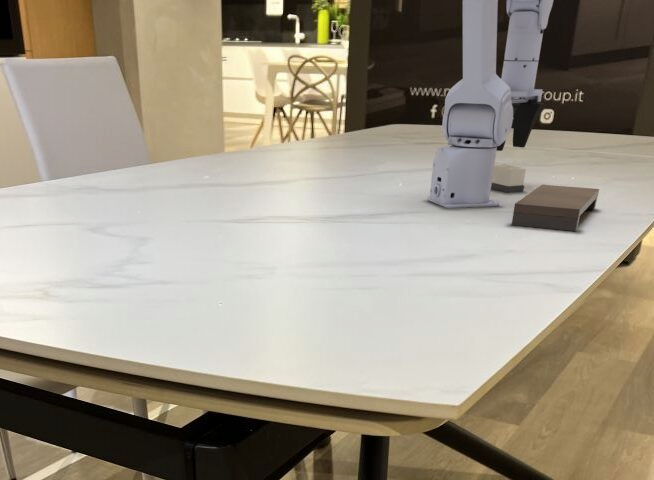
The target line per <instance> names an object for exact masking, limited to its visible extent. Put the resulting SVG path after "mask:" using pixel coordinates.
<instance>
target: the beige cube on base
mask: <svg viewBox="0 0 654 480" xmlns="http://www.w3.org/2000/svg"><path fill="white" fill-rule="evenodd" d="M526 170H527V168H526V167H519V166H514V165H509V164H494V171H493V178H492V185H491V190H495V191H500V192H503V193H521V192H524V190H525V185H524V182H525V177H526Z"/></svg>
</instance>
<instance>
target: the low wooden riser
mask: <svg viewBox="0 0 654 480" xmlns="http://www.w3.org/2000/svg"><path fill="white" fill-rule="evenodd" d="M599 193H600V189H599V188H589V187H579V186H567V185H566V186H565V185H554V184H553V185H551V184H541V185H539V186H538V187H537V188H534V190H533V191H531V192H529V193H528V194H526V195H525V196H524V197H522V198H520V200H519V199H518V201H516V202H515V203H514V206H513V213H512V219H511V226H516V227H527V228H535V229H536V228H537V229H546V230H555V231H566V232H576V231H578V228H579V223H580V217H581V216H582V215H583V213H584V212H585V211H595V209H596V207H597V201H598V197H599Z"/></svg>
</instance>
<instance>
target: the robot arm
mask: <svg viewBox="0 0 654 480" xmlns="http://www.w3.org/2000/svg"><path fill="white" fill-rule="evenodd" d="M498 2H499V0H462V79H460V80H459V81H458V82H456V83H455V84H454V85H453V86H452V87H451V88H450V89H449V91H448V92H447V94H446V96H445V98H444V109H443V110H444V111H443V115H442V125H441V127H442V134H443V136H444V138H445V139H446V141H447V145H449V146H442V147H439V148H438V149H437V150H436V152H435V154H434V158H433V163H432V172H431V180H430V192H429V197H427V201H428V202H431V203H433V204H436V205H439V206H440V207H443V208H445V209H459V208H461V209H462V208H463V209H465V208H483V207H484V208H487V207H499V206H500V203H499V202H498V201H495V200H492V199H490V198H491V191H492V189H491V185H492V178H493V171H494V165H496V163H495V162H496V155H497V152H502V151H504V148H505V144H506V140H507V139H508V138H509V136H510V133H511V130H512V147H513V148H526V145H527V143H528V140H529V138H530V135H531V132H532V131H533V128H534V125H535V124H536V121H537V120H538V118H539V116H540V115H541V113H542V112H543V110H544V109H545V103H544V102H542V97H543V96H542V95H543V89H541V88H535V86H536V79H537V73H538V66H539V61H540V54H541V48H542V42H543V37H544V36H543V35H544V30H545V29H547V26H548V23H549V17H550V13H551V11H552V8H553V4H554V0H506V14H507V17H509V22H508V29H507V36H506V44H505V51H504V58H503V65H502V71H501V77H499V75H498V74H497V44H498V43H497V39H498V8H499V7H498V5H499V3H498ZM512 125H513V129H512Z"/></svg>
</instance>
